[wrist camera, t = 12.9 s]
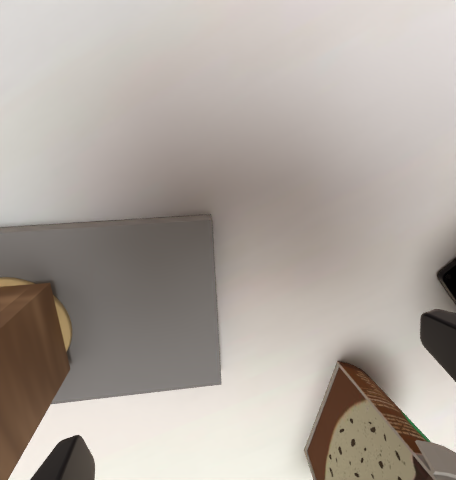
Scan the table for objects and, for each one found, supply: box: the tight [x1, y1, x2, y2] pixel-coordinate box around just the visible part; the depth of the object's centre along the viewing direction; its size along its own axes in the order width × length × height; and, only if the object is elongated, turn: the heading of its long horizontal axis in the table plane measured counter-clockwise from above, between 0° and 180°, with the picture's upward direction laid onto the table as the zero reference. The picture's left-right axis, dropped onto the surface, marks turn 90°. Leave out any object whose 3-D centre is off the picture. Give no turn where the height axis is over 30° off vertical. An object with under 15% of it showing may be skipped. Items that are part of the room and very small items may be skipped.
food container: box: [304, 361, 456, 480], centre depth 20 cm, size 12×6×10 cm, turn 167°
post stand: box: [0, 214, 221, 404], centre depth 17 cm, size 16×12×5 cm
